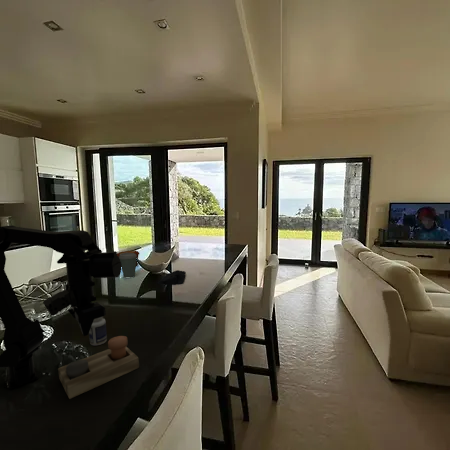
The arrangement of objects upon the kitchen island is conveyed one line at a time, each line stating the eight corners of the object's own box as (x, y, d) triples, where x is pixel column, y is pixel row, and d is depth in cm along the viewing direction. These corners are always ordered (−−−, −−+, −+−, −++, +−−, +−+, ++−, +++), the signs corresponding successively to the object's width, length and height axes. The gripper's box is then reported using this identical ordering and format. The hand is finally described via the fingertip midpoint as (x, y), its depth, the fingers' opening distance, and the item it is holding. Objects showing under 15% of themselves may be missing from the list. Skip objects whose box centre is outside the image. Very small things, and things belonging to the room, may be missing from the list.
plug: (65, 381, 75) (63, 365, 74) (86, 372, 78) (84, 357, 78) (70, 391, 71) (68, 374, 70) (92, 381, 74) (90, 365, 74)
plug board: (59, 378, 76) (58, 368, 76) (123, 352, 88) (123, 343, 88) (69, 399, 68) (68, 387, 68) (139, 367, 80) (138, 357, 80)
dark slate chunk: (189, 274, 178) (189, 267, 177) (182, 285, 156) (182, 277, 155) (166, 275, 179) (165, 268, 178) (155, 286, 157) (155, 277, 156)
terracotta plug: (106, 355, 82) (105, 340, 81) (124, 348, 85) (123, 334, 85) (113, 362, 78) (111, 347, 77) (131, 355, 81) (130, 340, 81)
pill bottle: (109, 337, 98) (107, 310, 97) (103, 345, 93) (101, 317, 92) (94, 338, 98) (91, 311, 97) (87, 346, 93) (84, 318, 92)
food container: (116, 266, 207) (115, 251, 206) (138, 263, 213) (137, 249, 212) (117, 270, 192) (116, 255, 191) (141, 267, 199) (140, 252, 198)
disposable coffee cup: (140, 274, 180) (139, 251, 179) (133, 279, 170) (132, 255, 168) (125, 274, 181) (123, 252, 180) (117, 279, 171) (115, 255, 169)
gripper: (38, 278, 75) (44, 333, 77) (51, 294, 61) (58, 362, 63) (83, 270, 82) (88, 320, 84) (103, 283, 68) (109, 343, 70)
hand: (85, 335), depth 75 cm, fingers closed
